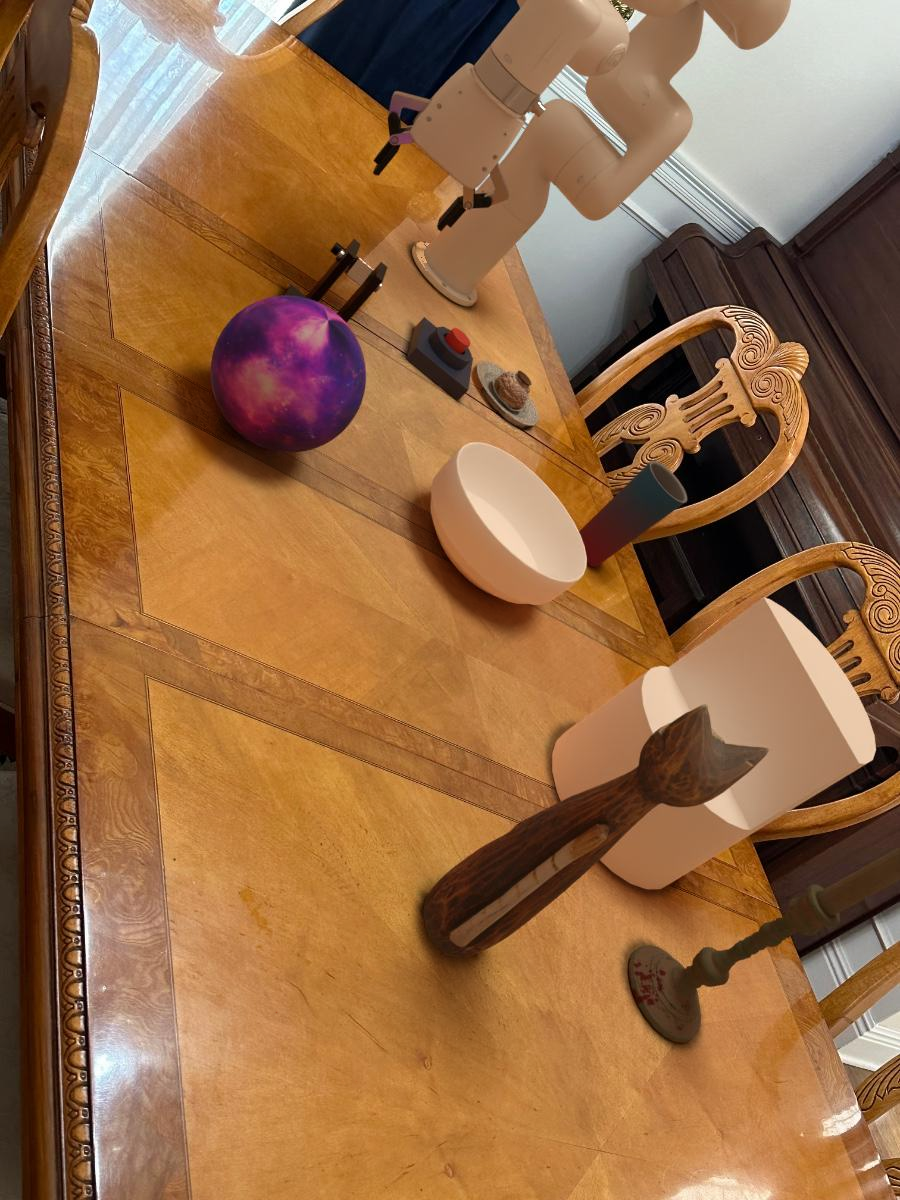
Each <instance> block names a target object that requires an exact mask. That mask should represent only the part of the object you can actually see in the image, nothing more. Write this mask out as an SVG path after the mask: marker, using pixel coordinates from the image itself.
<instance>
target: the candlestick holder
mask: <svg viewBox="0 0 900 1200" xmlns="http://www.w3.org/2000/svg"><path fill="white" fill-rule="evenodd" d="M898 881H900V846H899V847H897V848H895V849H894V850H892V851H890V852H888V853H887V854H884V855H883V856H881V857H880V858H878V859H875V860H874V861H872V862H870V863H869V864H867V865H865V866H863V867H861V868H859V869H858V870H856V871H854V872H852V873H851V874H849V875H847V876H845V877H844V878H842V879H840V880H838V881H836V882H834V883H832V884H831V885H829V886H826V887H825V888H824V887H822V886H821V885H819V884H815V883H814V884H811V885H809V886H808V887H807V888H806V889H805V894H804V896H797V897H794V898H792V899H791V900H790V901H789V902H788V904H787V910H786V916H782V917H776V919H773V920H771V921H767V922H764V923H762V925H761V926H760V927H759V929H758V930H757V931H755V932H753V933H752V934H751V935H748V936H746V937H745V938H743V939H741V940H740V939H739V940H738V941H737V942H736V943H734V944H733V945H732V946H731V947H730V948H727V949H721V950H717V949H716V948H714V947H712V946H704V947H703V948H701V949H700V950H699V952H698V953H696V954H695V956H694V957H693V959H692V962H691V965H688V966H687V967H684V965H683V964H682V963H680V962H679V960H677V959H676V958H675V957H673V956H672V955H671V954H669V952H667V951H666V950H664V949H663V948H660V947H659V946H656V945H652V944H649V945H641V946H639V947H637V948H636V949H635V950H633V952H632V954H631V956H630V958H629V961H628V962H629V963H628V979H629V984H630V989H631V992H632V995H633V996H634V999H635V1001H636V1005H637V1006H638V1007H639V1009H640V1011H641V1013H642V1014H643V1016H644V1017H645V1019H646V1020H647V1021H648V1023H649V1024H650V1025H651V1027H653V1029H655V1030H656V1031H657V1032H658V1033H659V1034H661V1035H662V1037H664V1038H666V1039H667V1040H670V1041H672V1042H675V1043H680V1044H682V1043H687V1042H688V1043H689V1042H690V1041H692V1040H693V1039H694V1038H695V1037H696V1036H697V1035H698V1033H699V1031H700V1029H701V1026H702V1025H701V1024H702V1011H701V1005H700V997H699V993H698V992H699V991H698V989H700V988H701V987H702V986H705V987H707V988H713V987H719V986H723V985H725V984H727V983H728V981H729V979H730V971H731V969H732V968H733V967H734V966H735V965H736V963H738V962H740V961H745V960H747V959H750V958H751V957H752V956H753V955H757V954H758V953H759V952H761V951H764V950H765V949H767V948H775V947H778V946H779V945H780V944H782V942H783V941H785V940H786V939H789V938H791V936H792V934H793V933H795V932H798V933H800V934H802V935H804V936H814V935H815V934H817V933H818V932H819V931H820V930H821V928H822V927H825V928H828V929H831V928H836V927H837V926H838V925H839V924H840V922H841V915H840V913H841V912H843V911H845V910H846V909H849V908H851V907H852V906H854V905H856V904H857V903H860V902H861V901H864V900H865V899H867V898H869V897H871V896H873V895H874V894H876V893H878V892H880V891H882V890H885V889H886V888H887V887H889V886H891V885H892V884H895V883H897V882H898Z"/></svg>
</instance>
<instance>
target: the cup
mask: <svg viewBox="0 0 900 1200" xmlns="http://www.w3.org/2000/svg"><path fill="white" fill-rule="evenodd" d="M647 463H648V464H646V465H645V466H644V467H643V468H642V469H641V470H640V471H639V472H638V473H637V474H636V475H635V476H634V477H633V478H632V479H631V480H629V482H627V484H626V485H625V486H623V488H621V490H619V492H618V493H616V495H614V496H613V497H612V498H611V499H610V501H608V502H607V503H606V504H605V505H603V507H602V508H601V509H600V510H599V511H598V512H597V513H596V514H595V515H594V516H593V517H592V518H591V519H590V520H589V521H588V522H587V523H585V525H584V526H583V527H582V528H581V529H580V530H578V531H579V533H580V535H581V538H582V541H583V544H584V546H585V551H586V557H587V565H586V566H589V567H592V568H597V567H598V566H600V565H601V564H603V563H604V562H605V561H607V560H608V559H609V558H611V557H612V556H613V555H615V554H616V553H618V552H619V551H620V550H622V549H623V548H625V547H626V546H627V545H629V544H631V543H632V542H633V541H635V540H636V539H637V538H639V537H640V536H642V535H643V534H644V533H645V532H647V531H648V530H649V529H651V528H653V527H654V526H655V525H656V524H658V523H659V522H661V521H662V520H664V519H665V518H666V517H668V516H669V515H670V514H671V513H673V512H674V511H675V510H677V509H679V508H680V507H681V506H683V505H684V504H686V503H687V501H688V495H687V492H686V489H685V488H684V486H683V485H682V483H681V482H680V480H679V479H678V478H677V476H676V475H675V474H674V473H673V472H672V471H671V470H670V469H669V468H668V467H667V466H666V465H664V464H663V463H661V462H659V461H657V460H649V462H647Z"/></svg>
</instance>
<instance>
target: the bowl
mask: <svg viewBox="0 0 900 1200" xmlns="http://www.w3.org/2000/svg"><path fill="white" fill-rule="evenodd" d="M430 495H431V496H430V497H431V498H430V516H431V519H432V523H433V526H434V530H435V534H436V537H437V539H438V541H439V544H440V546H441V548H442V550H443V551H444V553H445V555H446V557H447V558H448V559H449V560H450V562H451V563H452V564H453V566H454V567H455V568H456V569H457V570H458V572H459V573H461V575H463V576H464V578H466V579H467V580H468V581H469V582H470V583H471V584H473V585H474V586H475V587H477V588H478V589H480V590H482V591H483V592H485V593H487V594H489V595H491V596H493V597H496V598H498V599H501V600H503V601H505V602H508V603H513V604H516V605H519V604H520V605H526V604H528V605H533V606H542V605H545V604H548V603H551V602H552V601H554V600H555V599H557V598H558V597H559V596H560V595H562V594H564V593H565V592H566V591H568V590H569V589H570V588H571V587H572V586H574V585H575V584H577V582H578V581H579V580H581V579H582V577H584V574H585V573H586V570H587V566H588V565H587V557H586V551H585V546H584V544H583V541H582V538H581V535H580V533H579V531H580V530H578V527H577V524H576V522H575V521H574V519H573V518H572V517H571V515H570V513H569V512H568V509H566V507H565V505H563V503H562V502H561V500H560V499H559V497H557V495H556V494H555V493H554V492H553V490H552V489H551V488H550V487H549V486H548V485H547V484H546V483H545V481H543V480H542V479H541V477H539V476H538V475H537V474H536V473H535V472H534V471H533V470H532V469H530V468H529V467H528V466H527V465H526V464H525V463H523V462H522V461H521V460H519V459H518V458H516V457H515V456H513V455H512V454H511V453H508V452H507V451H505V450H503V449H501V448H500V447H497V446H494V445H492V444H489V443H485V442H481V441H474V442H468V443H466V444H463V445H462V446H461V447H460V448H459V449H458V450H457V451H456V452H455V453H454V454H452V456H451V457H450V458H449V459H448V460H447V461H446V463H444V465H443V466H442V467H441V468H440V469H439V471H438V472H437V473H436V474H435V476H434V477H433V478H432V482H431V486H430Z"/></svg>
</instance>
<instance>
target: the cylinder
mask: <svg viewBox="0 0 900 1200" xmlns="http://www.w3.org/2000/svg"><path fill="white" fill-rule="evenodd" d="M842 669H843V668H841V666H840V665H839V664H838V662H837V661H836V660H835V658H834V657H833V655H832V654H831V653H830V652H829V651H828V649H827V648H826V647H825V646H824V645H823V643H822V642H821V641H820V640H819V639H818V638H817V637H816V636H815V635H814V633H812V631H811V630H810V629H808V628H807V627H806V625H805V624H804V623H803V622H802V621H801V620H799V619H798V618H797V617H796V616H794V614H792V613H791V612H790V611H789V610H787V609H786V608H785V607H783V606H782V605H780V604H779V603H777V602H775V601H774V600H772V599H770V598H768V597H765V596H764V597H762V598H761V599H759V600H758V601H757V602H755V603H754V604H753V605H751V606H750V607H748V608H747V609H745V611H743V612H742V613H740V614H739V615H737V616H736V617H735V618H733V619H732V620H731V621H729V622H728V623H727V624H725V625H723V627H721V628H720V629H718V630H717V631H716V632H714V633H713V634H712V635H710V636H709V637H707V638H706V639H705V640H703V641H702V642H701V643H700V644H698V645H696V646H695V647H694V648H693V649H691V650H690V651H688V652H687V653H686V654H684V655H683V656H681V657H680V658H679V659H677V660H676V661H675V662H673V663H672V664H671V665H669V666H665V665H658V666H654V667H651V668H649V669H648V670H647V671H645V672H644V673H642V674H641V675H640V676H638V677H637V678H636V679H635V680H633V681H632V682H630V683H629V684H628V685H627V686H625V687H624V688H623V689H621V690H620V691H618V692H617V693H616V694H613V696H611V698H609V699H608V700H606V701H605V702H603V703H602V704H601V705H599V706H598V707H597V708H595V709H594V710H592V711H591V712H590V713H589V714H587V715H586V716H585V717H583V718H582V719H581V720H579V721H578V722H577V723H575V724H574V725H572V726H571V727H570V728H569V729H567V730H566V731H565V732H563V733H562V734H561V735H560V736H559V737H558V738H557V739H556V740H555V744H554V747H553V750H552V752H551V772H552V776H553V780H554V786H555V788H556V793H557V795H558V798H559V800H560V802H561V801H563V800H564V799H566V798H568V797H570V796H573V795H575V794H578V793H581V792H583V791H585V790H588V789H591V788H593V787H596V786H598V785H601V784H604V783H606V782H608V781H611V780H613V779H615V778H617V777H619V776H622V775H624V774H626V773H628V772H630V771H632V770H633V769H635V768H636V767H638V766H639V758H640V753H641V750H642V748H643V746H644V744H645V743H646V742H647V740H648V739H649V737H650V736H651V735H652V734H653V733H654V732H655V731H657V730H658V729H659V728H660V727H663V726H665V725H667V724H669V723H672V722H673V721H674V720H676V719H677V718H679V717H680V716H682V715H683V714H685V713H687V712H689V711H691V710H693V709H695V708H697V707H699V706H701V705H707V706H708V712H709V716H710V722H711V728H712V729H713V730H714V731H715V732H716V733H717V734H718V735H719V736H720V737H721V738H722V739H723V740H724V742H725V743H726V744H734V745H739V746H750V747H764V748H769V751H768V753H767V754H766V756H765V757H764V758H763V759H762V760H761V761H760V762H759V763H758V764H757V765H756V766H755V767H754V768H753V769H752V770H751V771H750V772H748V773H747V774H746V775H745V776H744V777H742V778H741V779H740V780H739V781H737V782H736V783H735V784H733V785H732V786H731V787H730V788H728V789H727V790H726V791H725V792H723V793H722V794H720V795H719V796H717V797H715V798H714V799H712V800H710V801H708V802H705V803H703V804H700V805H697V806H691V807H673V806H669V805H666V804H663V803H661V804H659V805H657V806H656V807H655V808H653V809H652V810H651V811H649V812H648V813H647V814H646V815H645V816H644V817H643V818H642V819H641V820H640V821H638V822H637V823H636V824H635V825H634V826H633V827H632V828H631V829H630V830H629V831H628V832H627V833H626V834H625V835H624V836H623V837H622V838H621V839H620V840H619V841H618V842H617V843H616V844H615V845H614V846H613V847H612V848H611V849H610V850H609V851H608V852H607V853H606V854H605V855H604V856H603V857H602V858H601V859H600V860H599V861H600V862H601V863H602V864H603V865H604V866H605V867H606V868H607V869H609V871H611V873H612V874H615V875H616V876H618V877H619V878H621V879H622V880H624V881H626V882H627V883H628V884H630V885H632V886H636V887H639V888H641V889H645V890H661V889H664V888H665V887H667V886H668V885H671V884H672V883H674V882H675V881H677V880H678V879H680V878H682V877H683V876H685V875H687V874H688V873H690V872H692V871H694V870H695V869H696V868H699V867H700V866H701V865H703V864H704V863H706V862H708V861H710V860H711V859H712V858H715V857H716V856H718V855H719V854H721V853H723V852H724V851H726V850H727V849H729V848H731V847H733V846H734V845H735V844H737V843H739V842H741V841H742V840H744V839H746V838H747V837H749V836H750V835H752V834H754V833H756V832H757V831H759V830H761V829H762V828H764V827H765V826H767V825H769V824H770V823H772V822H773V821H775V820H776V819H778V818H780V817H782V816H784V815H785V814H787V813H788V812H790V811H791V810H793V809H795V808H796V807H798V806H800V805H801V804H803V803H804V802H806V801H809V799H811V798H813V797H814V796H816V795H818V794H819V793H821V792H823V791H824V790H826V789H828V788H829V787H830V786H831V787H832V785H834V784H836V783H837V782H839V781H840V780H842V779H844V778H846V777H848V776H849V775H850V774H852V773H854V772H856V771H857V770H859V769H860V768H862V767H864V766H866V765H867V764H868V763H870V762H872V761H873V760H874V757H875V754H876V751H877V746H876V735H875V733H874V730H873V727H872V723H871V721H870V716H869V715H868V713H867V710H866V709H865V707H864V704H863V702H862V701H861V698H860V696H859V695H858V693H857V691H856V690H855V687H854V686H853V685H852V683H851V681H850V680H849V678H848V677H847V675H846V673H845V672H844V671H843V670H842Z"/></svg>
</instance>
